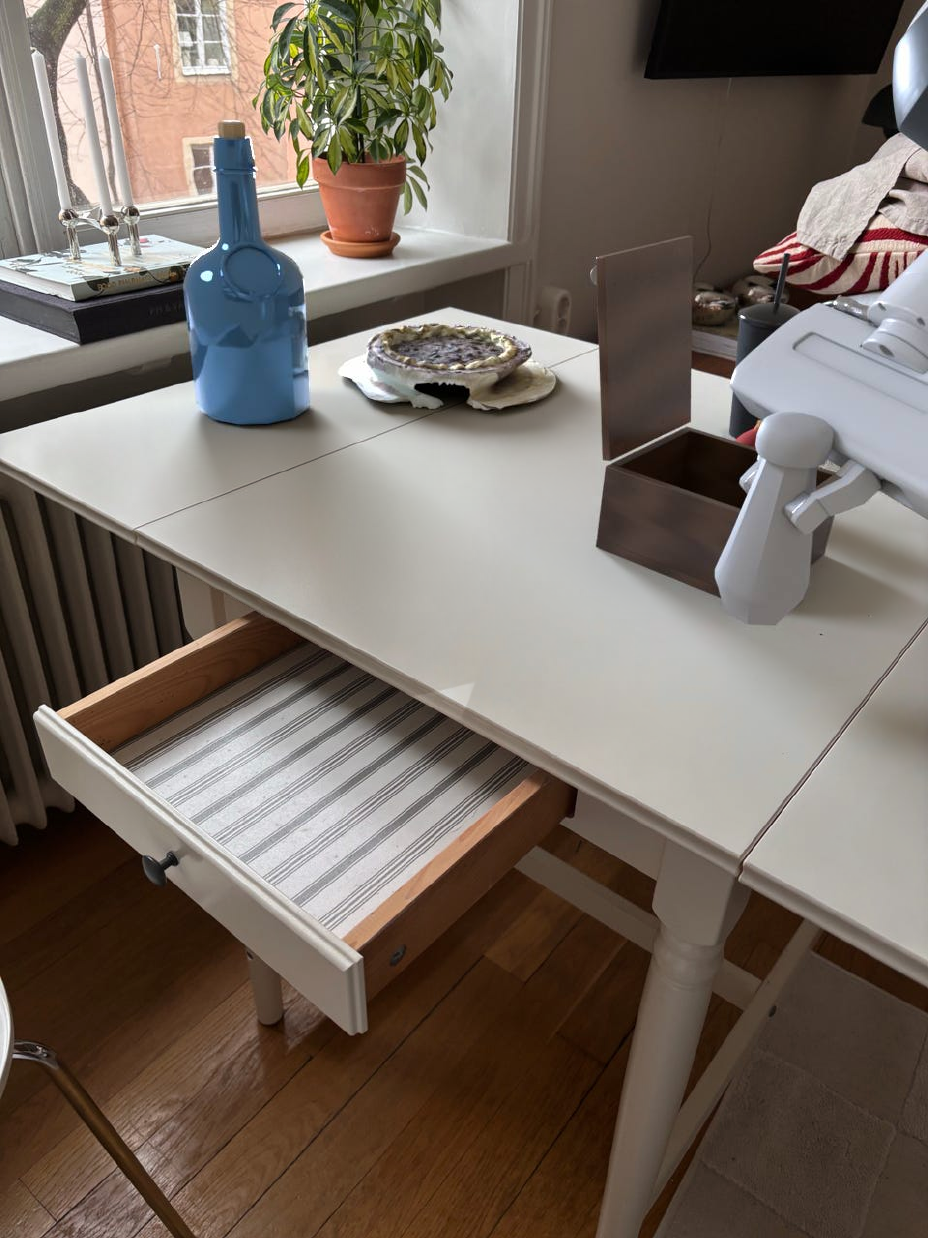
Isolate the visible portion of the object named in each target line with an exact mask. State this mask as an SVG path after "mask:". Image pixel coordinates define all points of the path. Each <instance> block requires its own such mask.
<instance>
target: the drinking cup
mask: <svg viewBox="0 0 928 1238" xmlns="http://www.w3.org/2000/svg"><path fill="white" fill-rule="evenodd" d="M790 258H791V253H788V252H784V253H783V256H782V261H781V266H780V271H779V275H778V281H777V285H776V291H775V295H774V299H773V301H767V302H760V303H755V304H753V305H750V306H746V307H743V308H741V309H739V310H738V312H737V319H739V323H738V325H739V326H738V334H737V345H736V355H735V365H734V367H735V368H736V367H737V365H738V364H739V363H740V362H741V361H742V360H743V359H745V358H746V357H747V356H748V355H749V354H750V353H751V352H752V351H753V350H754V349H755V348H756V347H758V346H759V345H760V344H761V343H762V342H763V341H764V340H766V339H767V338H768V337H769V336H770V335H771V334H773V333H774V332H775V331H776V330H777V329H779V328H780V327H781V326H782V325H784V324H785V323H786V322H787V321H789V320H790V319H791V318H793V317H794V316H796V315H797V314H799V313H801V312H802V311H801V310H799V309H798V308H796V307H794V306H792V305H790V304H786V303H782V297H783V292H784V287H785V283H786V278H787V273H788V268H789V264H790ZM735 368H734V369H735ZM729 417H730V418H729V425H728V426H729V427H728V428H729V429H728V433H729V435H730V436H731V437H732V438H734V439H735V440H736V439H737V438H738V437H739V436H741V435H742V434H744V433H746V432H748V431H750V430H752V429H754V428H755V426H756V424H757V421H758V420H761V419H759V418H757V417H756V416H754V415H752V414H751V413H750V412H749V411H748V410H747V409H746V408H745V407H744V405H743V404H742V403H741V402H740V400H739V399H738V398H737V396H736V395H735V393H734V392H733V391H732V396H731V408H730V416H729Z"/></svg>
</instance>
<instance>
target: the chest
mask: <svg viewBox="0 0 928 1238" xmlns="http://www.w3.org/2000/svg"><path fill="white" fill-rule="evenodd" d="M758 455H759V454H758V453H757V451H756V448H755V447H752V446H749V445H746V444H742V443H739V442H736V441H735V440H732V439H729V438H726V437H723V436H719V435H717V434H713V433H710V432H706V431H703V430H700V429H697V428H693V427H689V426H685V427H683V428H680V429H678V430H676V431H674V432H672V433H671V434H668V435H665V436H664V437H662V438H660V439H658V440H655V441H654V442H652V443H650V444H648V445H646V446H644V447H642V448H640V449H637V450H636V451H633V452H631V453H630V454H629V453H628V454H627V455H626V456H623V457H621V458H619V459H617V460H615V461H613V462H611V463H610V464H607V465H606V466H605V471H604V479H603V487H602V493H601V494H602V495H601V502H600V511H599V519H598V526H597V534H596V542H595V547H596V548H598V549H601V550H603V551H606V552H608V553H610V554H612V555H615V556H618V557H621V558H623V559H626V560H627V561H631V562H633V563H635V564H638V565H640V566H642V567H644V568H648V569H650V570H652V571H655V572H657V573H659V574H662V575H664V576H667V577H669V578H672V579H674V580H677V581H680V582H682V583H684V584H687V585H689V586H692V587H694V588H696V589H699V590H702V591H704V592H706V593H709V594H711V595H714V596H715V597H718V598H721V595H720V591H719V588H718V585H717V582H716V579H715V568H716V566H717V564H718V562H719V559H720V557H721V555H722V553H723V551H724V548H725V546H726V544H727V542H728V539H729V537H730V535H731V533H732V530H733V528H734V526H735V523H736V521H737V518H738V516H739V514H740V511H741V509H742V507H743V504H744V502H745V500H746V497H747V495H748V494H747V493H746V492H745V490H744V489H743V488H742V487H741V486H740V483H739V482H740V479H741V477H742V476H743V475H744V474H745V473H746V472H747V471H748V470H749V469H750V468H751V467H752V466H753V465H754V464H755V463H756V462H757V461H758V460H757V458H758ZM836 472H837V471H833V470H830V469H828V468H824V467H821V466H818V467H817V475H816V490H815V491H817V490H819V489H821V488H823V487H825V486H827V485H829V484H831V483H833V482H835V481H837V480H839V478H838V476H837V475H836ZM835 516H836V515H833V516H828V517H827V518H826V519H825V520H824V521H823V522H822V523H821V524H820V525H819V526H818V527H817V528H816V529H815V530H814V531H813V535H812V550H811V565H810V567H812V565H813V564H814V563H816V562H817V561H818V560H820V559H821V558H822V557H823V556H825V553H826V550H827V545H828V542H829V538H830V535H831V531H832V528H833V523H834V519H835Z"/></svg>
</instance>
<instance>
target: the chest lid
mask: <svg viewBox="0 0 928 1238" xmlns="http://www.w3.org/2000/svg"><path fill="white" fill-rule="evenodd" d="M590 280H591V282H592V284H593V285H595V286H596V294H597V296H596V299H597V325H598V326H597V328H598V329H597V332H598V357H599V359H598V362H599V389H600V390H599V392H600V393H599V394H600V395H599V396H600V416H601V417H600V423H601V451H602V453H601V455H602V456H601V457H602V461H606V462H611V461H613V460H615V459H617V458H619V457H622V456H624V455H626V454H629V453H630V452H632V451H634V450H636V449H639V448H640V447H642V446H644V445H646V444H648V443H650V442H653V441H654V440H657V439H659V438H661V437H663V436H664V435H665V436H666V434H669V433H671V432H673V431H675V430H677V429H679V428H681V427H684V426H686V425H687V424H689V423H691V422H692V351H693V349H692V347H693V346H692V342H693V341H692V340H693V333H692V332H693V235H684V236H679V237H675V238H671V239H667V240H661V241H658V242H655V243H650V244H645V245H642V246H641V245H640V246H637V247H632V248H629V249H624V250H620V251H617V252H612V253H607V254H603V255H599V256H596V257H595V266H594V267H593V268H592V269H591V271H590Z"/></svg>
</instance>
